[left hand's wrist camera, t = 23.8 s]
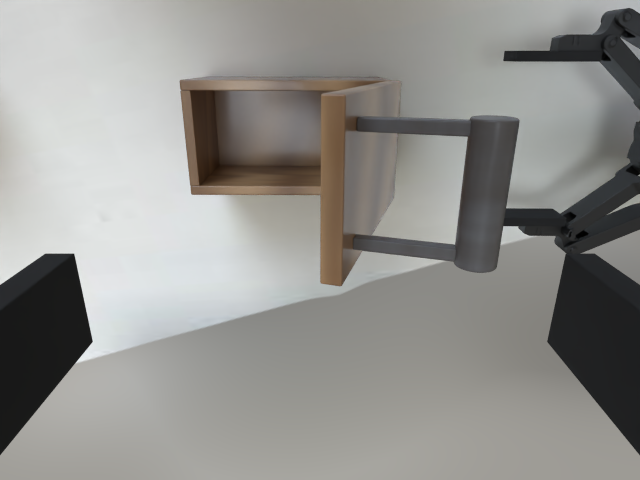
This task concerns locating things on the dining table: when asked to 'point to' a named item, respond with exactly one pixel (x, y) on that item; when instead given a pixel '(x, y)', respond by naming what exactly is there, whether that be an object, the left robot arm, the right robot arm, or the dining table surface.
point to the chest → (257, 133)
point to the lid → (379, 180)
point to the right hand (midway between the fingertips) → (497, 141)
